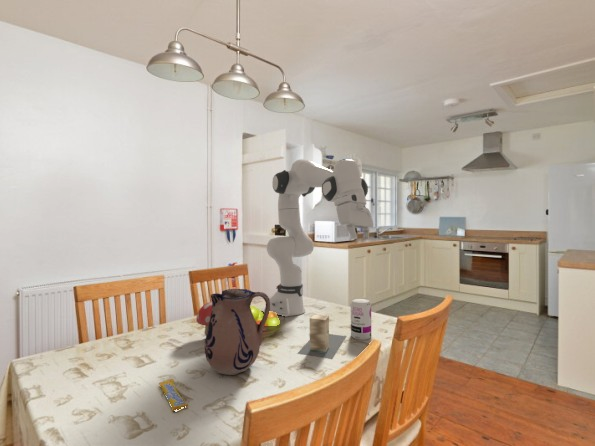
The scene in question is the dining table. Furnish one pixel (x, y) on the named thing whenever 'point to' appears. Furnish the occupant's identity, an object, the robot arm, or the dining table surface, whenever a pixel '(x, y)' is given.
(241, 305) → the ceramic pitcher
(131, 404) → the dining table surface
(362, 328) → the supplement can
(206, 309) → the decorative mushroom
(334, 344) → the mat
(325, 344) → the block
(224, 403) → the dining table surface
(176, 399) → the candy bar
